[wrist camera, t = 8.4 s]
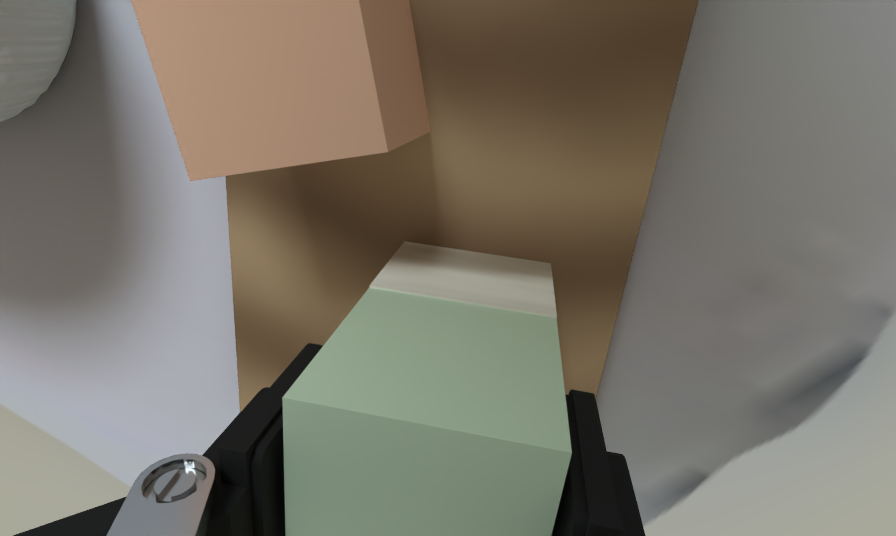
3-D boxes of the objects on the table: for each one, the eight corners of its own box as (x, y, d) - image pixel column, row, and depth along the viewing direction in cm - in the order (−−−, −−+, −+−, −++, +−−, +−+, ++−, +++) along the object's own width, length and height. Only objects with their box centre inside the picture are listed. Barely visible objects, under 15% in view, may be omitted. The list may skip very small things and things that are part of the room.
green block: (369, 287, 13) (282, 397, 9) (556, 318, 13) (571, 452, 8) (361, 436, 15) (286, 593, 10) (525, 468, 14) (522, 649, 10)
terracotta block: (242, -14, 15) (112, -58, 10) (401, -50, 14) (336, -118, 9) (285, 153, 16) (190, 181, 12) (430, 131, 15) (388, 151, 11)
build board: (229, -130, 15) (86, -233, 10) (710, -97, 13) (813, -199, 9) (255, 411, 22) (179, 502, 17) (568, 472, 21) (580, 590, 16)
